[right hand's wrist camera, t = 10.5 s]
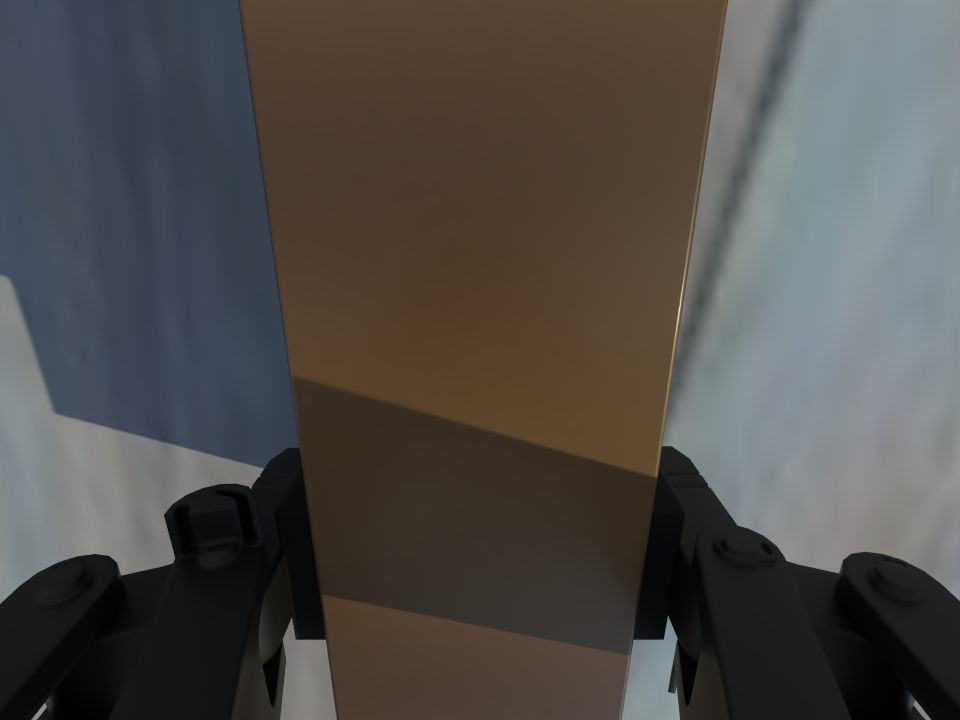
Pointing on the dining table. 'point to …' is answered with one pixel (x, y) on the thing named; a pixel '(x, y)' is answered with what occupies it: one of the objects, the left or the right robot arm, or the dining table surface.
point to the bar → (481, 328)
